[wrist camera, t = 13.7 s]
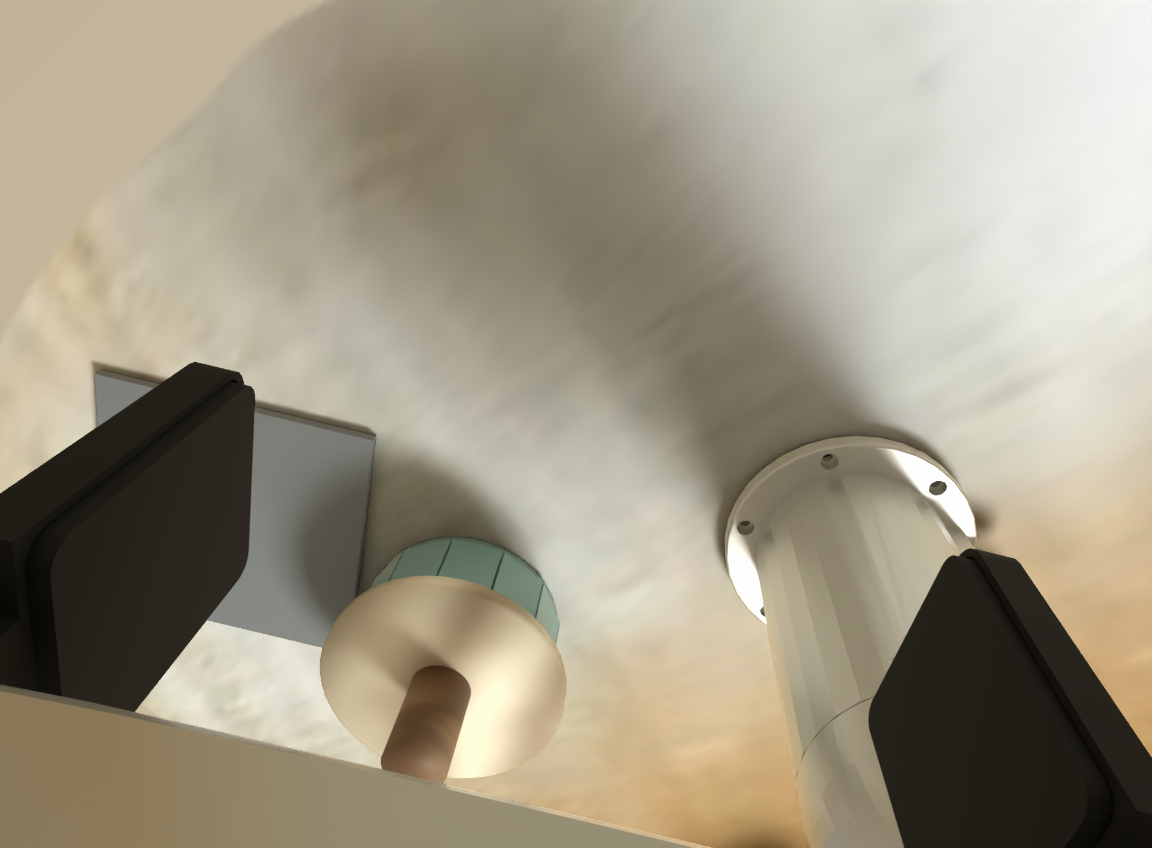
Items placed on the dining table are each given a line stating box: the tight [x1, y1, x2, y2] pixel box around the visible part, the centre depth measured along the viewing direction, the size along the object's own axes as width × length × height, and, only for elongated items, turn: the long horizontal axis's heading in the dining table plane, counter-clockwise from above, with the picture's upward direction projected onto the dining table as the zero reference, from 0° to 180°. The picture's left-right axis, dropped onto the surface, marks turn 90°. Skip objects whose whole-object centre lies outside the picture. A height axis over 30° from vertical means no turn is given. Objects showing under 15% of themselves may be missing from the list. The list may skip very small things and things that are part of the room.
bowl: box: [370, 537, 560, 645], centre depth 45 cm, size 11×11×5 cm
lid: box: [320, 576, 566, 783], centre depth 40 cm, size 13×13×6 cm
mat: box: [95, 370, 376, 648], centre depth 46 cm, size 15×15×1 cm
